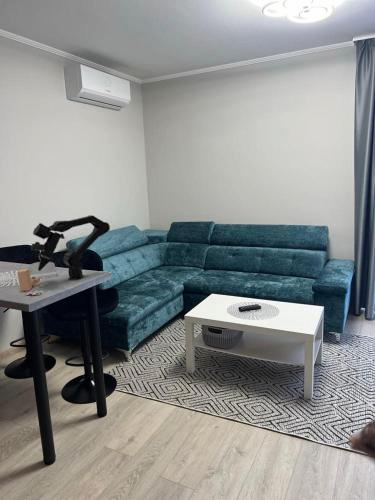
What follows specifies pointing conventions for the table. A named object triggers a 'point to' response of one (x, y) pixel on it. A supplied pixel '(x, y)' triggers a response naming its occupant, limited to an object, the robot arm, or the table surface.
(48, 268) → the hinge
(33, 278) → the pintle
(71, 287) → the table surface
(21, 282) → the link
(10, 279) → the table surface
